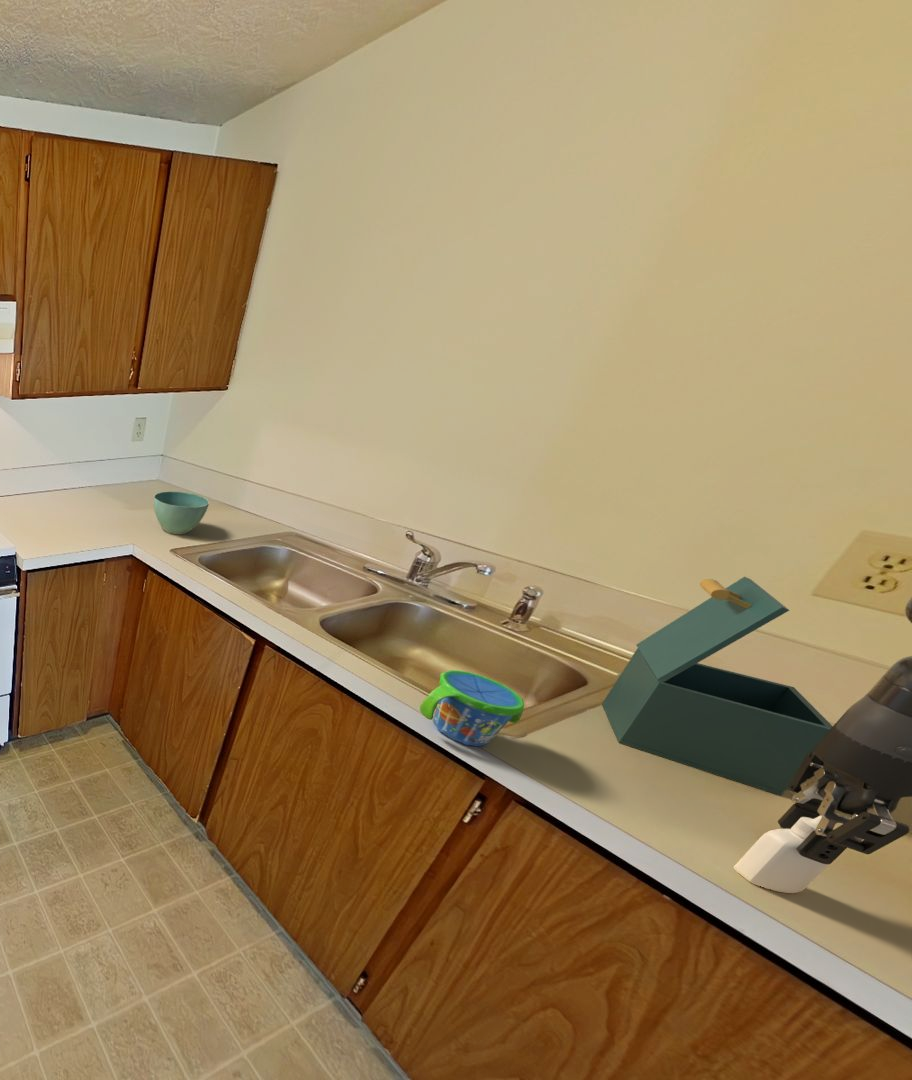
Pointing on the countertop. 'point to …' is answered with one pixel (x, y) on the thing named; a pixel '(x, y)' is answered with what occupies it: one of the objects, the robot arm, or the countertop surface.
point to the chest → (716, 722)
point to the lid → (709, 626)
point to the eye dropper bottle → (781, 859)
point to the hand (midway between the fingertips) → (801, 843)
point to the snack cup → (471, 707)
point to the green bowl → (179, 511)
